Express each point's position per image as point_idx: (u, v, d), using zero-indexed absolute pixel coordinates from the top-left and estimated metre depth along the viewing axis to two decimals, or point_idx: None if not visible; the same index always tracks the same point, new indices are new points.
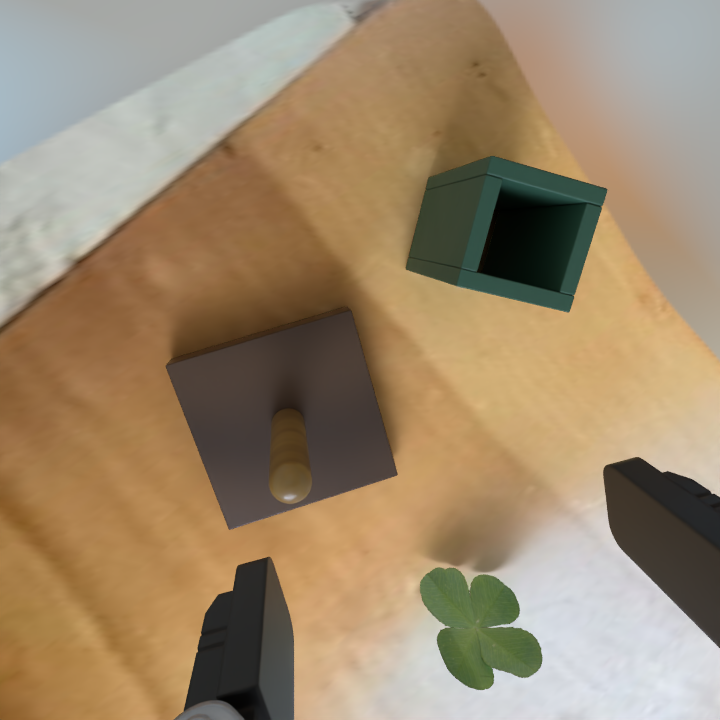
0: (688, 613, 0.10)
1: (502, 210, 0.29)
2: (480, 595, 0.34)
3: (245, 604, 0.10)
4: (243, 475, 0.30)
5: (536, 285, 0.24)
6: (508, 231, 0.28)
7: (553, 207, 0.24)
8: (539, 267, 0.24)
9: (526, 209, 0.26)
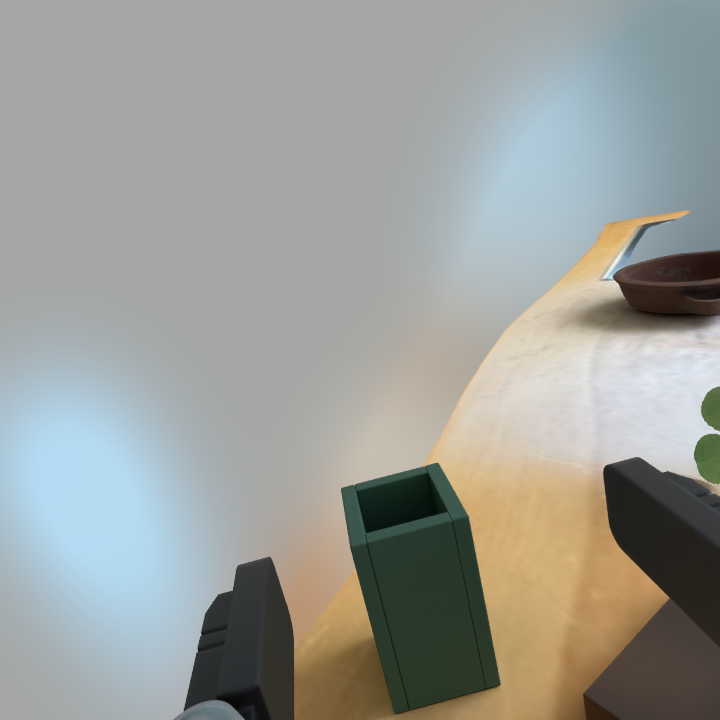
0: (689, 613, 0.10)
1: None
2: None
3: (245, 604, 0.10)
4: None
5: (434, 509, 0.27)
6: None
7: None
8: (419, 518, 0.27)
9: None
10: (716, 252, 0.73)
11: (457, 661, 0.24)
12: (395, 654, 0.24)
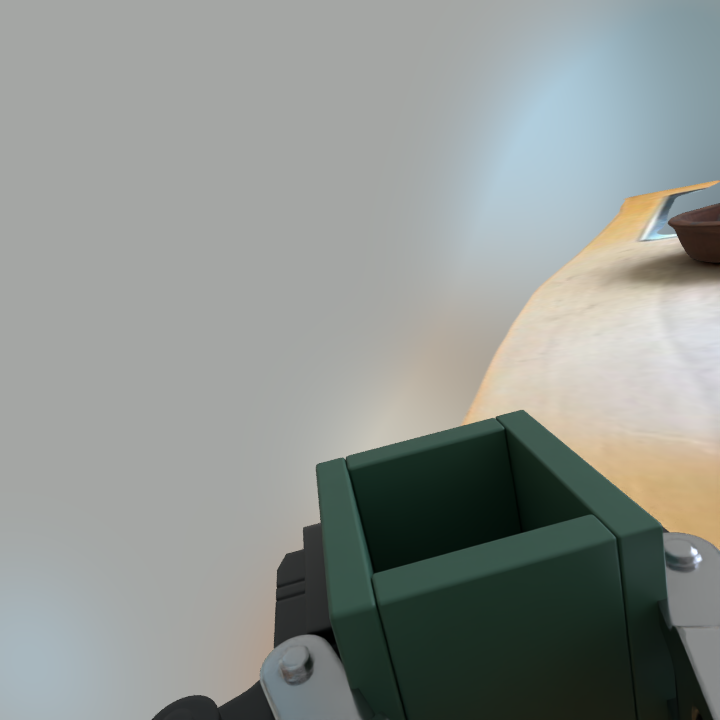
0: None
1: None
2: None
3: (318, 559, 0.11)
4: None
5: (516, 510, 0.13)
6: None
7: (377, 571, 0.12)
8: (485, 528, 0.13)
9: None
10: None
11: None
12: None
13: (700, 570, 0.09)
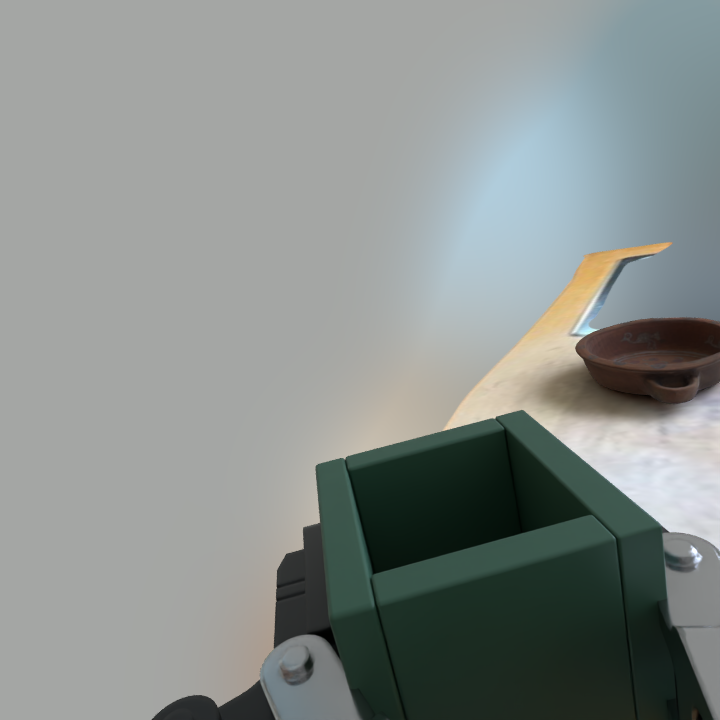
0: None
1: None
2: None
3: (318, 559, 0.11)
4: None
5: (516, 510, 0.13)
6: None
7: (377, 571, 0.12)
8: (485, 528, 0.13)
9: None
10: (686, 320, 0.68)
11: None
12: None
13: (700, 570, 0.09)
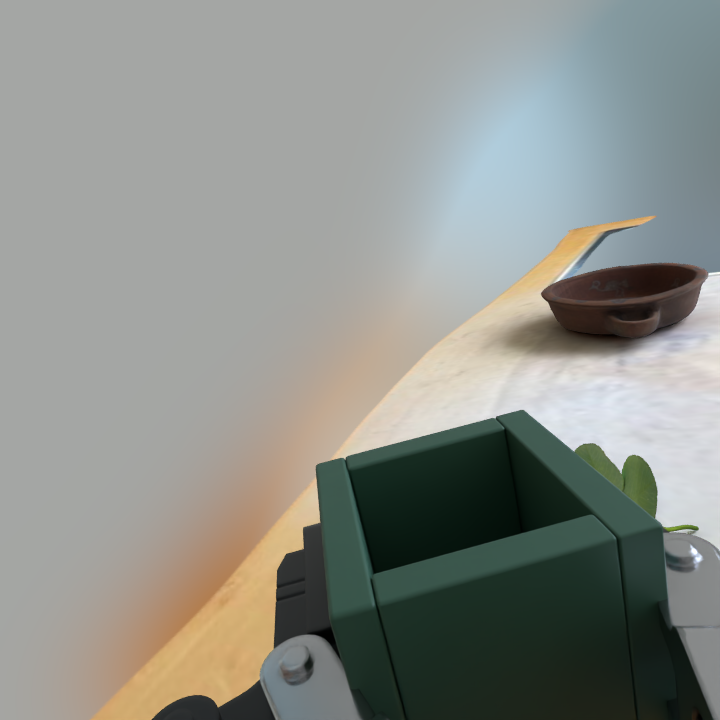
0: None
1: None
2: None
3: (318, 559, 0.11)
4: None
5: (516, 510, 0.13)
6: None
7: (377, 571, 0.12)
8: (485, 528, 0.13)
9: None
10: (654, 265, 0.67)
11: None
12: None
13: (700, 570, 0.09)
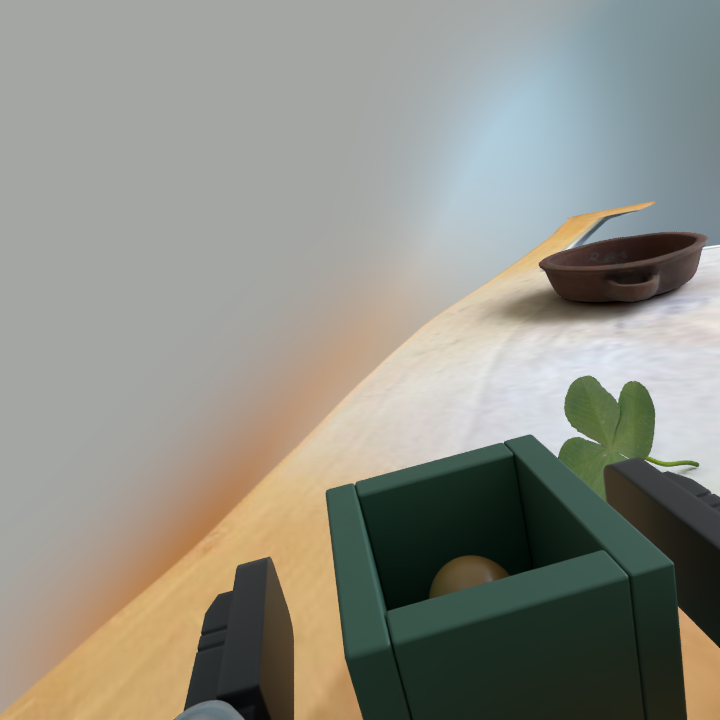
0: (689, 613, 0.10)
1: None
2: (585, 479, 0.27)
3: (245, 604, 0.10)
4: None
5: (525, 534, 0.13)
6: None
7: (387, 595, 0.13)
8: (494, 552, 0.13)
9: None
10: (653, 235, 0.66)
11: None
12: None
13: None
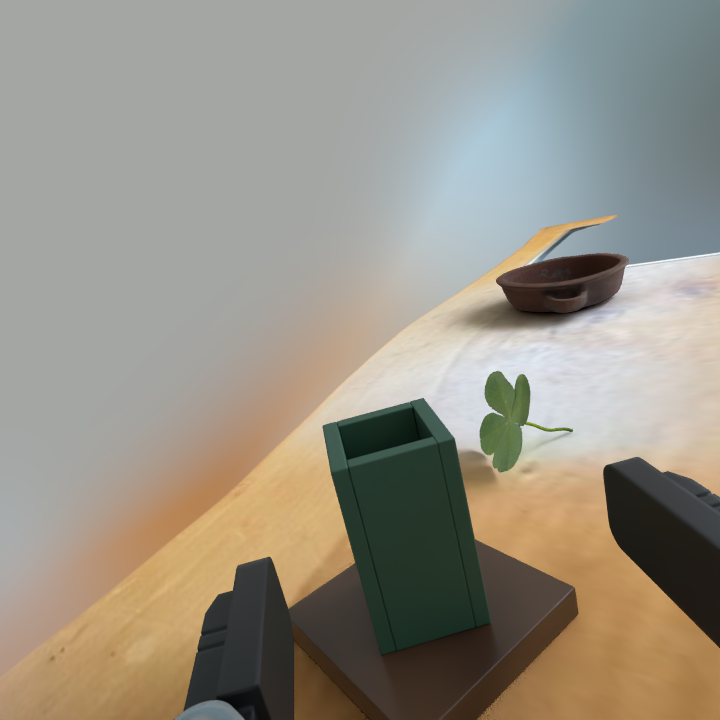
0: (688, 613, 0.10)
1: None
2: (495, 440, 0.40)
3: (245, 604, 0.10)
4: (502, 605, 0.24)
5: None
6: None
7: None
8: None
9: None
10: (591, 255, 0.80)
11: (445, 597, 0.23)
12: (380, 590, 0.22)
13: None
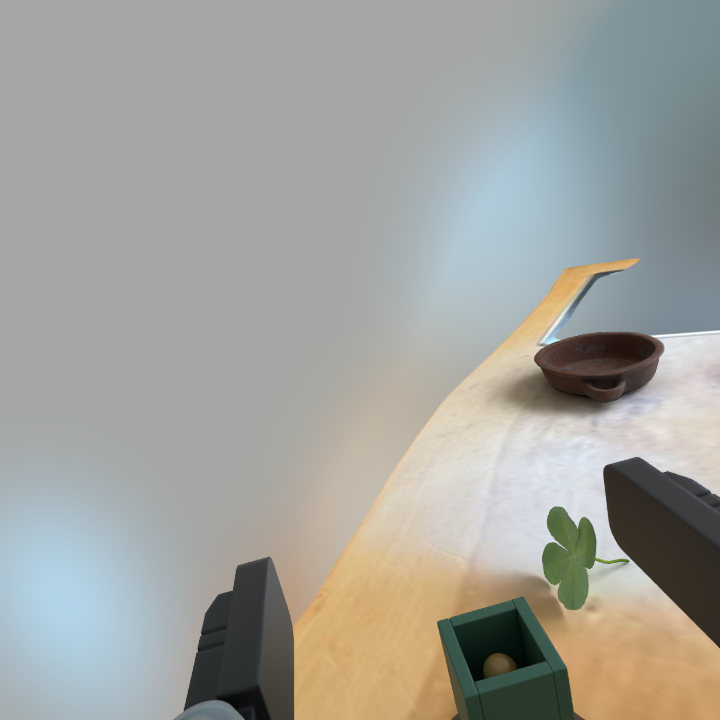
0: (688, 613, 0.10)
1: None
2: (559, 571, 0.44)
3: (245, 604, 0.10)
4: None
5: (520, 639, 0.30)
6: None
7: None
8: (507, 647, 0.30)
9: None
10: (625, 334, 0.83)
11: None
12: None
13: None
